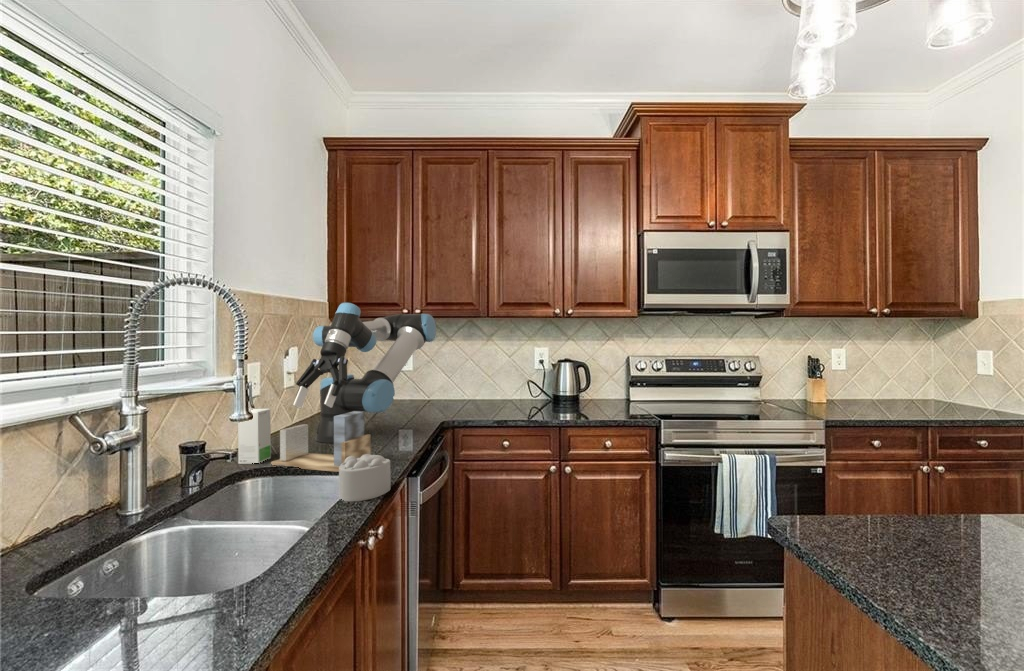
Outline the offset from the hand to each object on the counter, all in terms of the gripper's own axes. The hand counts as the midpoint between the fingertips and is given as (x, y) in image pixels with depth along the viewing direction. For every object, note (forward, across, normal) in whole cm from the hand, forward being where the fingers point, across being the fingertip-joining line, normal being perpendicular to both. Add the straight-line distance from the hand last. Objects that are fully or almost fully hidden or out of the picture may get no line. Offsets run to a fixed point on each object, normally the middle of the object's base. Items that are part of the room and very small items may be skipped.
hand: (312, 406), depth 161 cm
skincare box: (+18, -16, 0) cm, 24 cm away
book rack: (+16, +5, +7) cm, 18 cm away
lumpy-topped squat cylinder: (+26, +36, -5) cm, 45 cm away
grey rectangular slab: (+15, -4, +4) cm, 16 cm away
